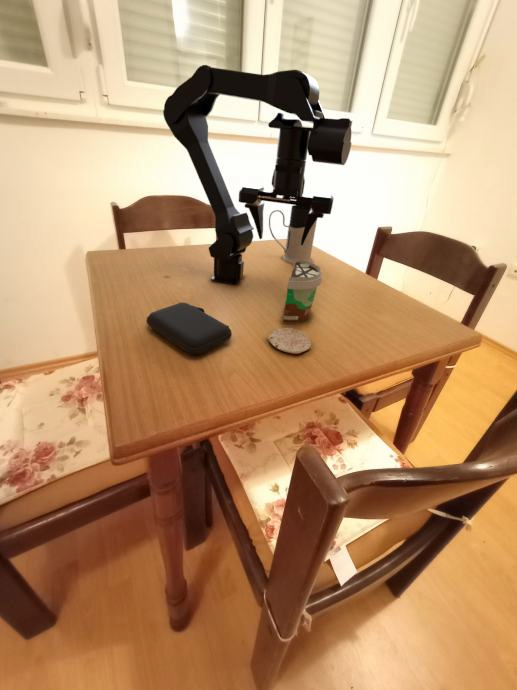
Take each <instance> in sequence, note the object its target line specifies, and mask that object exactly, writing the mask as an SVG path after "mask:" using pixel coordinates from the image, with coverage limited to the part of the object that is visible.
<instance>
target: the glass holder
mask: <svg viewBox="0 0 517 690" xmlns="http://www.w3.org/2000/svg"><path fill="white" fill-rule="evenodd" d="M310 210H311V207H307V206H300V205H292V206H291V210H290V218H289V223H288V225H286V224H285V214H284V212H283V211H282V210H280V209H275V210H274V209H273V211H271V212H270V213H269V217H268V227H269V228H268V229H269V231H270V234H271V237H272V238H273V239H274V240H275V241H276V243H277V244H278V245H279V246H280V247H281V248H282V249H283V258H282V260H283V261H285V263H288V264H292V265H295V259H296V258H297V259H302V260H306V261H309V262H311V263H312V259H311V257H312V250H313V245H314V240H315V239H314V238H315V233H316V229H317V228H316V227H317V222H318V219H317V220H316V221H315V223H314V224H313V226H312V227H311V229H310V231H309V233H308V235H307V237H306V239H305V241H304V243H303V245H301V240H302V236H303V232H304V228H305V225H306V221H307V217H308V214H309V212H310ZM275 212H279V213H280V214H281V215H282V225H283V226H284V227H285V228H287V235H286V245H285V246H284V245H283V244H282V243H281V242H280V241H279V240H278V239H277V238H276V236H275V235H274V233H273V230H272V227H271V218H272V215H273V214H274V213H275Z"/></svg>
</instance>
